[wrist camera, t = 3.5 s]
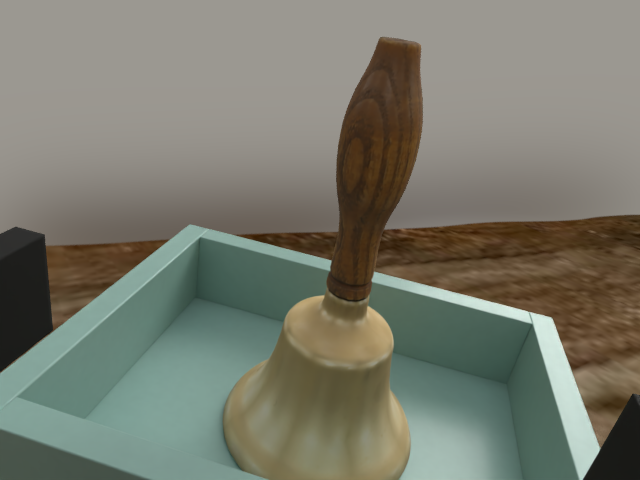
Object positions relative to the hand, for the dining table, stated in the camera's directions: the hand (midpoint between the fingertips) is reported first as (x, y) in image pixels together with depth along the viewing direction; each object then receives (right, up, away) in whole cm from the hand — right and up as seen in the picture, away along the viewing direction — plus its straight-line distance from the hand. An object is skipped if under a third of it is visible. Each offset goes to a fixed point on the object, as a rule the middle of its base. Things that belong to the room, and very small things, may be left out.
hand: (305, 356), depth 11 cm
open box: (0, -6, +11) cm, 12 cm away
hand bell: (0, -6, +11) cm, 12 cm away
